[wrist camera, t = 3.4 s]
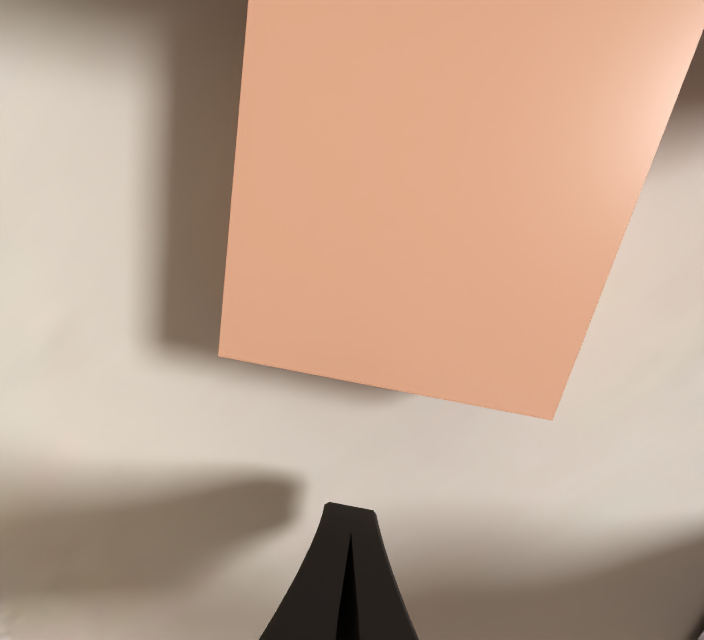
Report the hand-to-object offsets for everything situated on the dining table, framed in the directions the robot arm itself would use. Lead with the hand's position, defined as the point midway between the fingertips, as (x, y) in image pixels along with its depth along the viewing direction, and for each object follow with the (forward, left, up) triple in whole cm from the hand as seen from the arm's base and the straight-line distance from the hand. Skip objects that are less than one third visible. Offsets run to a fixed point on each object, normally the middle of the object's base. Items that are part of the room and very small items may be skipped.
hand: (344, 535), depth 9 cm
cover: (+9, 0, -2) cm, 9 cm away
